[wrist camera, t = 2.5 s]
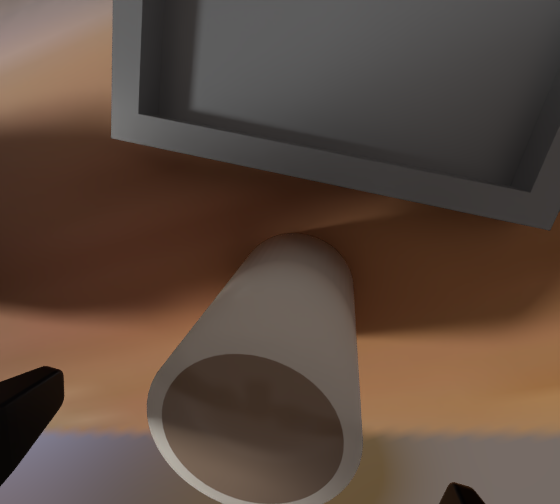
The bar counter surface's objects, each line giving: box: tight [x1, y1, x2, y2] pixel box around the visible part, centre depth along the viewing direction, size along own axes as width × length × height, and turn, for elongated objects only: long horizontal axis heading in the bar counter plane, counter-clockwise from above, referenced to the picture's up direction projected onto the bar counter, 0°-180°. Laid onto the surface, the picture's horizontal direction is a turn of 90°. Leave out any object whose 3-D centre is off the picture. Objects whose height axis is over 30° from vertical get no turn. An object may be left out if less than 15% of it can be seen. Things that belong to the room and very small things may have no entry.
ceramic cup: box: [147, 233, 363, 504], centre depth 12 cm, size 5×5×8 cm
